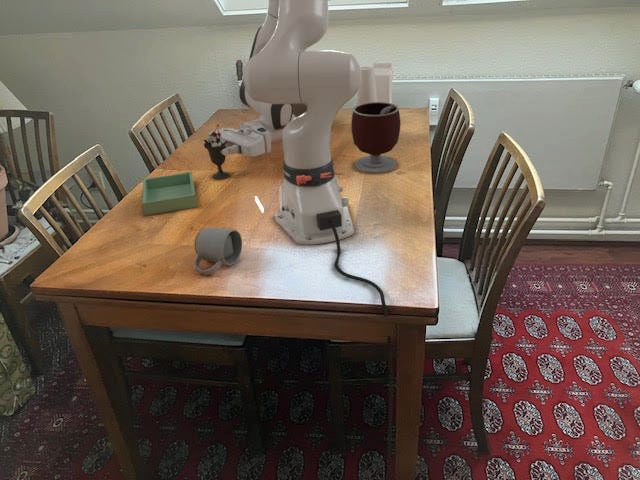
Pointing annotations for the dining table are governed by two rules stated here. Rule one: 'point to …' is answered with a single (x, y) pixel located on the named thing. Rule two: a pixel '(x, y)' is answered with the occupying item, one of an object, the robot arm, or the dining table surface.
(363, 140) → the mate gourd
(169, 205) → the green tray
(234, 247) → the ceramic mug
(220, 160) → the sundae
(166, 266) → the dining table surface
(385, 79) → the milk
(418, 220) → the dining table surface
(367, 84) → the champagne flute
